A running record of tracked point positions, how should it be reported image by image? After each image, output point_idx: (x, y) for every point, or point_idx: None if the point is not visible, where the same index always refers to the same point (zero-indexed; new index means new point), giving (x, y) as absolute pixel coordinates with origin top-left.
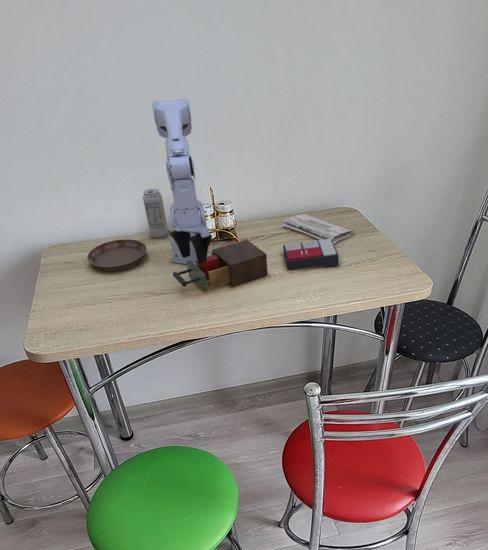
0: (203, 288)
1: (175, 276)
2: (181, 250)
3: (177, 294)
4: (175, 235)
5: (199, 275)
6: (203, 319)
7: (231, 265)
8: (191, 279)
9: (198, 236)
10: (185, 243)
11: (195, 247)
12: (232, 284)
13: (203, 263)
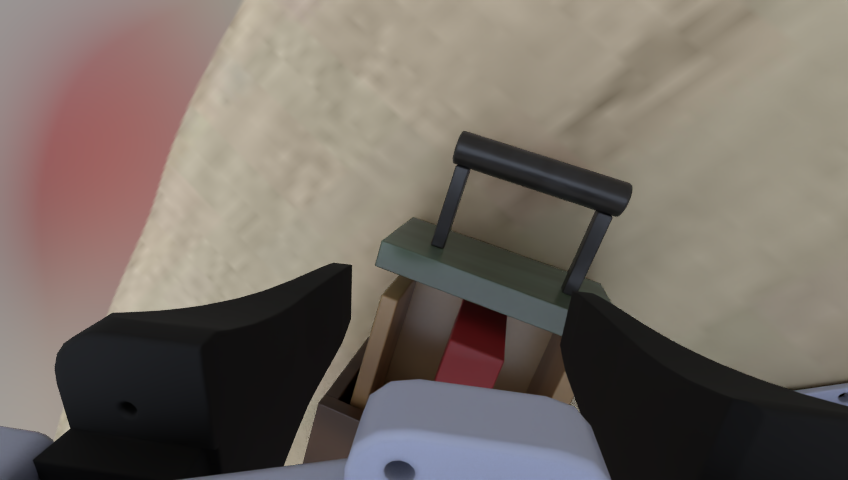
0: (407, 222)
1: (580, 170)
2: (599, 318)
3: (541, 136)
4: (711, 412)
5: (418, 248)
6: (268, 66)
7: (318, 407)
8: (565, 272)
9: (136, 446)
10: (608, 411)
11: (243, 305)
12: (365, 342)
13: (449, 340)
